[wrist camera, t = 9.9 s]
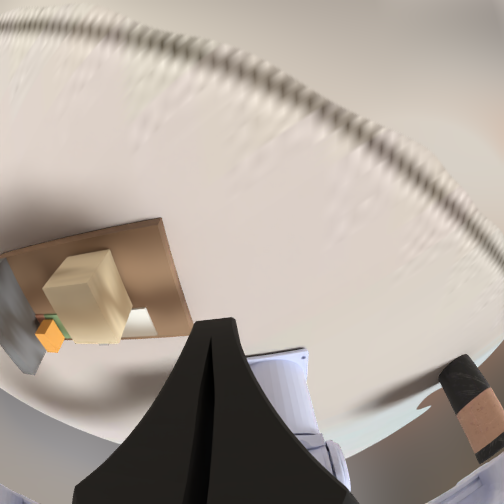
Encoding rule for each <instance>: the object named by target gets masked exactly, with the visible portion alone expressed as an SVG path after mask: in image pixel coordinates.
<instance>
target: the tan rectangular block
mask: <svg viewBox="0 0 504 504" xmlns="http://www.w3.org/2000/svg"><path fill="white" fill-rule="evenodd" d="M42 289H43V291H44V293H45V295H46V296H47V298H48V300H49V302H50V304H51V305H52V307H53V309H54V311H55V312H56V314H57V316H58V317H59V319H60V321H61V322H62V324H63V326H64V327H65V329H66V330H67V332H68V333H69V335H70V336H71V338H72V340H73V341H74V342H75V344H99V345H109V344H115V343H120V340H121V337H122V334H123V331H124V328H125V325H126V323H127V320H128V317H129V314H130V312H131V309H132V306H133V305H132V303H131V301H130V298H129V296H128V294H127V291H126V289H125V287H124V284H123V282H122V280H121V277H120V275H119V272H118V270H117V267H116V265H115V262H114V259H113V257H112V254H111V251H110V249H108V250H102V251H97V252H91V253H85V254H80V255H75V256H69V257H67V258H66V259H65V260H64V261H63V263H62V264H61V265H60V266H59V268H58V269H57V270H56V271H55V272H54V274H53V275H52V276H51V278H50V279H49V280H48V281H47V283H46V284H45V285H44V287H43V288H42Z"/></svg>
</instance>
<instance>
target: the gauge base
mask: <svg viewBox="0 0 504 504" xmlns="http://www.w3.org/2000/svg"><path fill="white" fill-rule="evenodd" d="M108 249H110V251H111V254H112V257H113V259H114V262H115V265H116V267H117V270H118V272H119V275H120V277H121V280H122V282H123V284H124V287H125V289H126V291H127V294H128V296H129V298H130V301H131V303H132V305H133V306H132V309H131V312H130V314H129V317H128V320H127V323H126V325H125V328H124V331H123V334H122V337H121V340H123V339H146V338H162V337H176V336H188V335H190V332H191V330H192V328H193V325H194V324H193V321H192V318H191V315H190V312H189V309H188V306H187V303H186V300H185V297H184V294H183V291H182V288H181V285H180V281H179V278H178V275H177V272H176V268H175V265H174V261H173V258H172V254H171V251H170V247H169V244H168V240H167V236H166V233H165V229H164V225H163V221H162V218H157V219H151V220H146V221H141V222H135V223H130V224H125V225H120V226H115V227H110V228H105V229H101V230H96V231H91V232H87V233H82V234H78V235H73V236H69V237H65V238H61V239H56V240H52V241H48V242H44V243H40V244H36V245H32V246H29V247H25V248H21V249H17V250H14V251H10V252H6V253H3V254H1V255H0V345H1V346H2V347H3V349H4V350H5V351H6V353H7V354H8V355H9V357H10V358H11V359H12V360H13V362H14V363H15V364H16V365H17V366H18V368H19V369H20V370H21V371H22V372H23V373H25V374H30V375H35V374H36V371H37V369H38V367H39V365H40V363H41V361H42V359H43V357H44V355H45V353H46V351H47V350H46V349H45V348H44V346H43V345H42V344H41V342H40V341H39V339H38V338H37V337H36V335H35V333H36V331H37V329H38V327H39V326H40V324H41V322H42V321H43V320H52V319H53V320H54V322H55V323H56V325H57V326H58V328H59V330H60V331H61V333H62V334H63V336H64V337H65V339H64V340H72V338H71V336H70V335H69V333H68V332H67V330H66V329H65V327H64V326H63V324H62V322H61V321H60V319H59V317H58V316H57V314H56V312H55V311H54V309H53V307H52V305H51V304H50V302H49V300H48V298H47V296H46V295H45V293H44V291H43V289H42V288H43V287H44V285H45V284H46V283H47V281H48V280H49V279H50V278H51V276H52V275H53V274H54V272H55V271H56V270H57V269H58V268H59V266H60V265H61V264H62V263H63V261H64V260H65V259H66V258H67V257H69V256H75V255H80V254H85V253H91V252H97V251H102V250H108Z"/></svg>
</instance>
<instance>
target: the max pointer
mask: <svg viewBox="0 0 504 504" xmlns="http://www.w3.org/2000/svg"><path fill="white" fill-rule="evenodd" d="M35 335H36V337H37V338H38V339H39V341H40V342H41V344H42V345H43V346H44V348H45V349H46V350H47V352H55V353H58V351H59V349H60V347H61V345H62V343H63V341H64V339H65V337H64V336H63V334H62V333H61V331H60V330H59V328H58V326H57V325H56V323H55V322H54V320H53V319H52V320H43V321H42V322H41V324H40V326H39V327H38V329H37V331H36V333H35Z"/></svg>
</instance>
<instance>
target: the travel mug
mask: <svg viewBox="0 0 504 504" xmlns="http://www.w3.org/2000/svg"><path fill="white" fill-rule="evenodd" d="M439 381H440V383H441V385H442V387H443V389H444V391H445V393H446V395H447V397H448V399H449V401H450V403H451V406H452V408H453V410H454V411H455V414H456V415H457V418H458V420H459V422H460V424H461V426H462V428H463V430H464V432H465V434H466V436H467V438H468V440H469V442H470V444H471V446H472V449H473V451H474V453H475V455H476V458H477V460H478V462H479V464H481V463H483V462H484V461H485V460H487V459H488V458H490V457H491V456H493V455H494V454H495V453H497V452H498V451H499V450H500V449H502V448H503V447H504V410H503V408H502V406H501V404H500V402H499V401H498V399H497V397H496V395H495V394H494V392H493V390H492V389H491V387H490V385H489V384H488V382H487V381H486V379H485V378H484V376H483V375H482V373H481V372H480V371H479V369H478V368H477V366H476V365H475V364H474V362H473V361H472V359H471V358H470V357H469V356H468V355H467V354H465V355H462V356H460V357H458V358H457V359H455V360H454V361H453V362H452V363H450V364H449V365H448V366H447V367H446V368H445V369H444V370H443V372H442V373H441V374H440V376H439Z"/></svg>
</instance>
